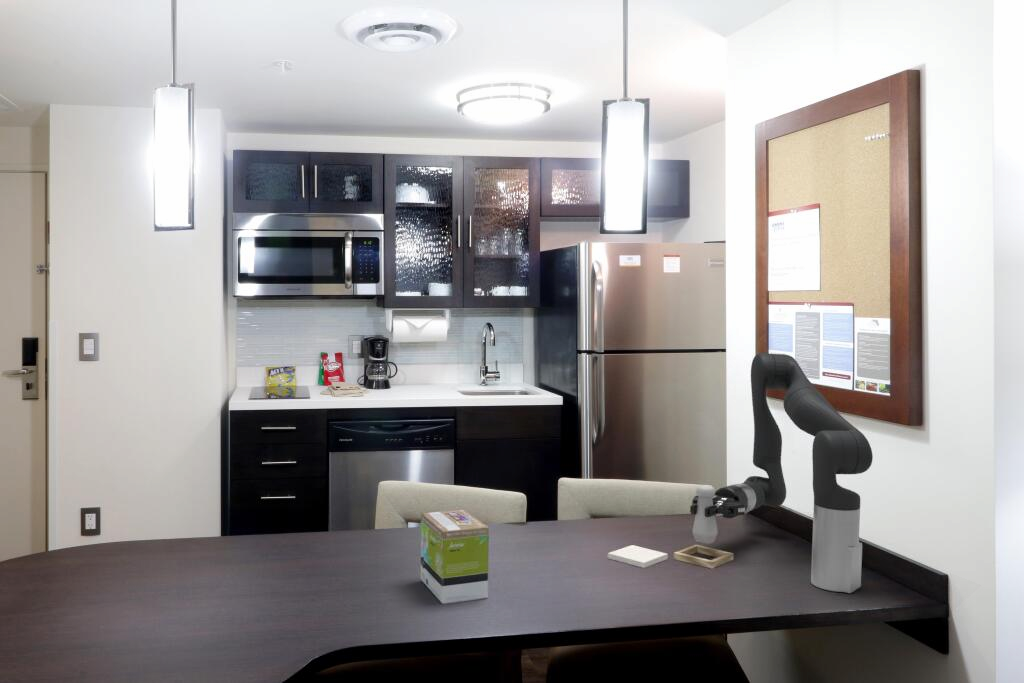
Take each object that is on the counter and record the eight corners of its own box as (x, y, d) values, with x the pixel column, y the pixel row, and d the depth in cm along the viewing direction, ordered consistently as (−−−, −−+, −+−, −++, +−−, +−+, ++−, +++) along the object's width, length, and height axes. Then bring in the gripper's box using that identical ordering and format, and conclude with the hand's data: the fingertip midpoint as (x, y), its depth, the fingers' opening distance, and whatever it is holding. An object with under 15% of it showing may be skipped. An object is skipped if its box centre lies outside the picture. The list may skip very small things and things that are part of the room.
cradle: (733, 559, 191) (733, 553, 191) (712, 568, 184) (712, 562, 184) (695, 550, 198) (695, 544, 198) (673, 559, 191) (673, 552, 191)
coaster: (667, 558, 191) (667, 553, 191) (643, 568, 184) (643, 562, 183) (632, 549, 198) (632, 544, 198) (607, 558, 190) (607, 553, 190)
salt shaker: (715, 538, 193) (716, 484, 193) (719, 545, 187) (720, 489, 187) (690, 537, 194) (691, 483, 194) (693, 544, 188) (694, 488, 188)
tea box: (418, 581, 171) (420, 511, 171) (463, 576, 175) (465, 507, 175) (441, 605, 157) (442, 529, 157) (489, 599, 161) (491, 525, 161)
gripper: (709, 481, 206) (672, 490, 193) (761, 489, 196) (727, 499, 183) (708, 510, 206) (672, 522, 193) (761, 520, 196) (726, 533, 184)
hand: (699, 511), depth 188 cm, fingers closed on salt shaker, 3 cm apart
